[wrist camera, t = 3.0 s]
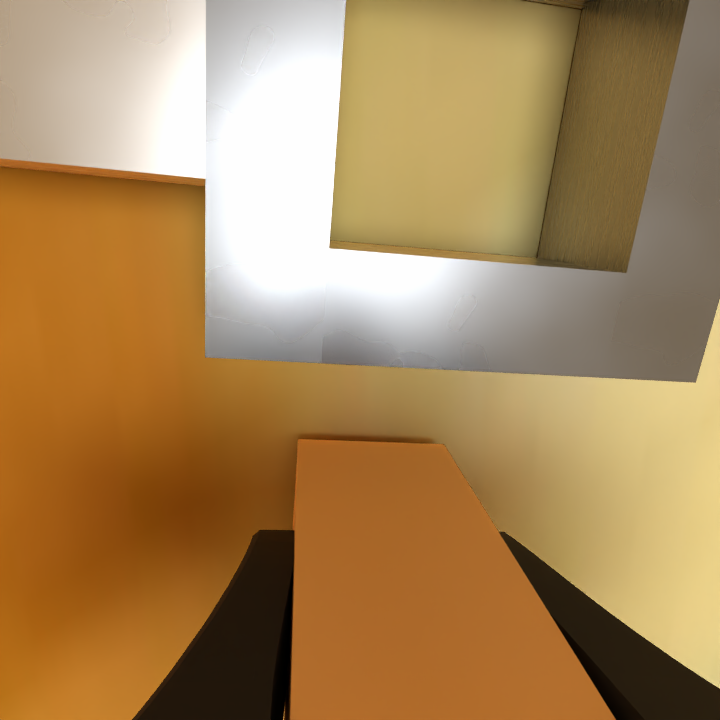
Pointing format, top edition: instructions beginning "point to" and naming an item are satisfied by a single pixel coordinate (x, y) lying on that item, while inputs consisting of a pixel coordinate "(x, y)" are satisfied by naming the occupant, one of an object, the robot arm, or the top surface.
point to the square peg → (415, 599)
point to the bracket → (316, 178)
